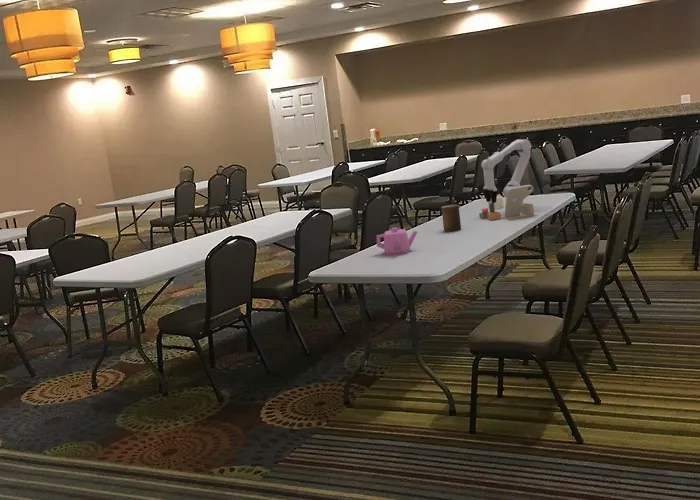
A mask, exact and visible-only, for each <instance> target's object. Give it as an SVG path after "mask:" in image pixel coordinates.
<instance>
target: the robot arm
mask: <svg viewBox="0 0 700 500" xmlns="http://www.w3.org/2000/svg"><path fill="white" fill-rule="evenodd" d="M531 149H532V144H531V141H530V140H529V139H527V138H525V139H519V138H518V139H516V140H514V141H512V142H511V143H510V144H509V145H508V146H506V147H504V148H503V149H502V150H501V151H495V152H493V154H492V155H491V156H488V157H487V159H483V160H482V162H481V164H480V166H481V168H482V170H483V171H482V172H483V179H484V180H483V181H484V186H483V190H481V191H482V193H483V195H484V197H485V201H486V202H487V203H488V202H490V201H492V203H496V198H497V194H498V191H497V189H498V188H497V187H496V185H495V184H496V183H495V174H494V169H495V168H494V167H495V166H496V165H497V164H499V163H500V162H502V161H503V160H504V157H505V156H507V155H508V154H510V153H511V152H514V151H515V150H516V151H517V153H518V154H519V156H520V157H519V158H518V161H517V165H516V167H515V170H514V172H513V174H512V177H511V179H510V181H509V182H508V183H506V185H505V187H504V188H503V194H504V196H505V197H506V196H507V190H508V189H509V188H513V187H518V186H521V184H520V183H521V181H522V178H523V176H524V173H525V171H526V168H527V166H528V163H529V160H530V159H531V158H530V157H531ZM516 199H517V197H516V196H514V197H513V198H512V200H513V201H515V200H516ZM521 204H524V200H522V202H521ZM520 212H521V210H520Z"/></svg>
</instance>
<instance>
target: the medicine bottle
mask: <svg viewBox="0 0 700 500" xmlns="http://www.w3.org/2000/svg"><path fill="white" fill-rule="evenodd" d="M497 191H498V194H497V198H496V203H494V207H495V210H500V209H502V208H504V198H503V195H500V189H499V188H497ZM490 202H492V201H490ZM490 202H487V204H488V206H489V203H490ZM499 208H500V209H499ZM488 210H490V208H489V207H488Z"/></svg>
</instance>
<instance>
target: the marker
mask: <svg viewBox="0 0 700 500" xmlns="http://www.w3.org/2000/svg"><path fill="white" fill-rule="evenodd" d="M489 208H490V209H489ZM488 209H489V212H496V209H495V207H494V203H492V202H490V203H489V205H488Z"/></svg>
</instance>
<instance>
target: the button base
mask: <svg viewBox="0 0 700 500" xmlns="http://www.w3.org/2000/svg"><path fill="white" fill-rule="evenodd" d="M488 213H490V211H488ZM478 214H479V215H478V217H479V219H482V220H487V219H488V214H487V213H485V214H483V213H482V212H480V213H478ZM486 218H487V219H486Z"/></svg>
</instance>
